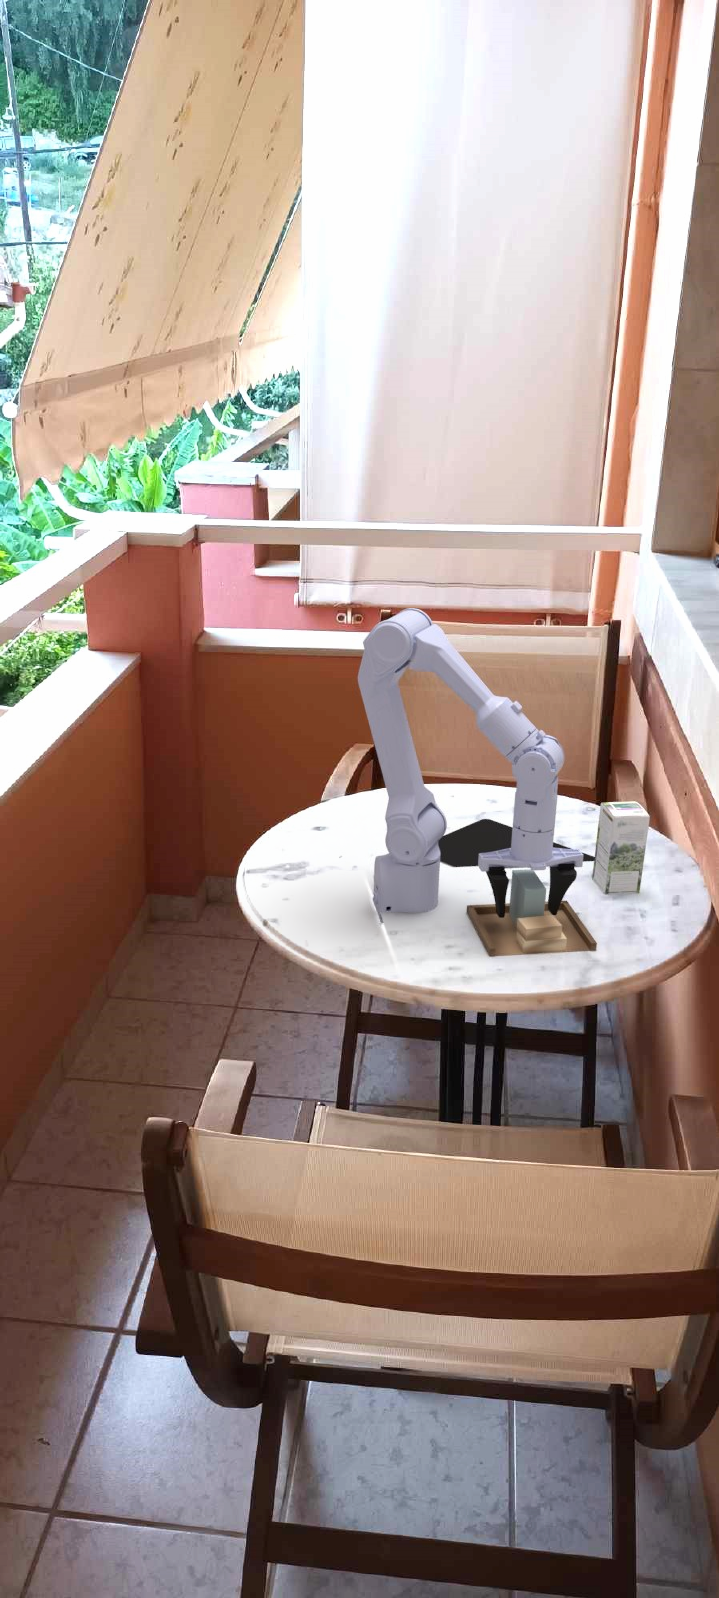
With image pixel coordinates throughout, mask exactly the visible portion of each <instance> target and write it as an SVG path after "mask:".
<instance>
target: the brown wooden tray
mask: <svg viewBox="0 0 719 1598" xmlns="http://www.w3.org/2000/svg"><path fill="white" fill-rule="evenodd" d="M509 908H510V902H508V903H507V902H506V903H505V916H504V918H499V916H498V915H497V913H496V906H495V903H491V904H490V903H489V904H488V903H487V904H468V905H466V914H467V916H468V918H469V920H470V923H471V924H472V926H473V928H474V930H475V931H476V934H477V936H478V937H479V939H480V942H481V943H482V945H483V947H484V948H485V950H486V953H487V955H488V956H489V957H502V956H504V957H505V956H506V957H507V956H519V955H520V956H521V955H539V954H540V955H541V954H542V955H543V954H554V953H555V954H558V953H575V952H576V953H577V952H591V951H592V952H594V951H597V945H598V942H597V941H596V940H595V938H594V937H593V935H592V934H591V933H590V931H589V930H588V929H587V927H586V925H585V924H584V923H583V921H582V920H581V918H580V917H579V916H578V914H577V913H576V912H575V910H574V909H573V907H572V906H571V905H570V903H569V901H568V900H562V901H561V904H560V906H559V909H558V912H557V915H553V916H554V917H555V918H556V919H557V920H558V921H559V922H560V924H561V925H562V932H563V934H564V935H565V937H566V938H567V941H566V950H563V951H545V952H527V953H523V952H522V950H521V948H520V947H519V945H518V943H517V941H516V936H517V927H516V925H515V923H514V922H513V920H512V918H511V917H510V915H509ZM546 915H552V914H551V913H550V911H549V910H548V900H547V901H545V910H544V916H546Z"/></svg>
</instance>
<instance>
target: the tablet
mask: <svg viewBox="0 0 719 1598" xmlns="http://www.w3.org/2000/svg"><path fill="white" fill-rule="evenodd" d="M512 828H513V826H509V825H507V824H504V823H502V822H499V821H496V820H492V819H490V818H483V819H482V818H481V819H479V820H477V821H474V822H473V823H470V824H467V825H466V826H463V827H460V828H458V829H456V830H454V831H451V832H449V833H446V834H444V835H443V837H442V838H441V839H440V840H438V846H439V849H440V864H443V865H446V866H448V867H451V868H468V867H469V868H471V867H472V868H473V867H479V866H478V859H479V853H489V852H494V851H498V850H503V849H508V848H511V841H512ZM553 848H562V849H572V847H568V846H565V845H563V844H560V843H557V842H554V841H553ZM582 854H583V863H584V862H594V858H595V855H594V856H593V855H591V854H588V853H584V852H582Z"/></svg>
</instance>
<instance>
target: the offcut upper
mask: <svg viewBox="0 0 719 1598" xmlns="http://www.w3.org/2000/svg"><path fill="white" fill-rule="evenodd" d="M517 931H518V933H519V934H520V935H521V936H522V938H523V939H524V940H525V941H531V940H540V939H549V938H559V937H561V933H562V925H561V924H560V922H559V921H558V920H557V919H556V918H555V917H554V916H553V915H546V916H537V917H527V918H517Z"/></svg>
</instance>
